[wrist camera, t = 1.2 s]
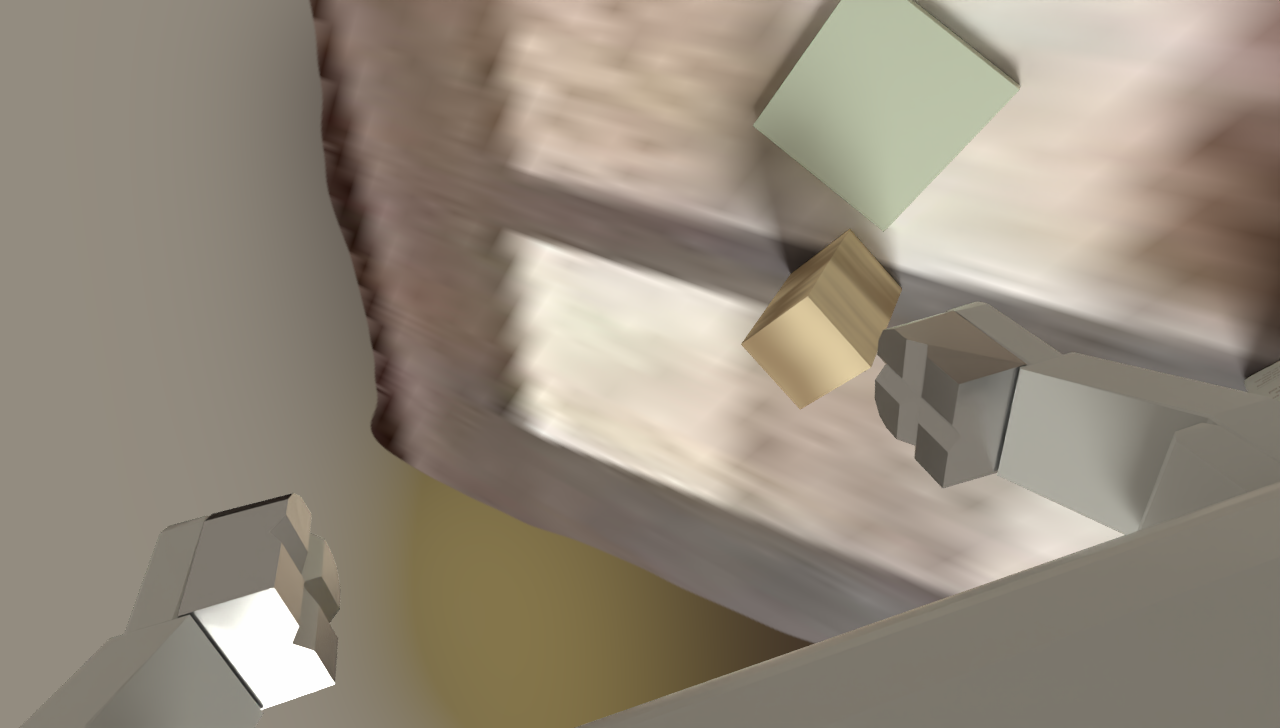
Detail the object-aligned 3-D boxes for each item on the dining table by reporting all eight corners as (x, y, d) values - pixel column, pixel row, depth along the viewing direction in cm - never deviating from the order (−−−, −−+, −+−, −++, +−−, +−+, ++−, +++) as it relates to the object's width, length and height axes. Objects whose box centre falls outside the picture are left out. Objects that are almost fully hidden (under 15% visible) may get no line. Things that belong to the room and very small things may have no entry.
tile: (868, -35, 38) (864, -34, 37) (1020, 85, 38) (1019, 89, 37) (758, 121, 45) (752, 125, 44) (886, 225, 44) (883, 231, 44)
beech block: (849, 228, 45) (807, 296, 38) (902, 288, 46) (871, 367, 38) (790, 273, 49) (741, 344, 41) (840, 329, 49) (800, 409, 41)
